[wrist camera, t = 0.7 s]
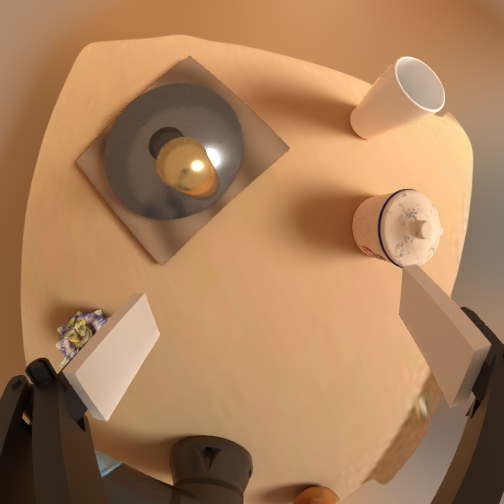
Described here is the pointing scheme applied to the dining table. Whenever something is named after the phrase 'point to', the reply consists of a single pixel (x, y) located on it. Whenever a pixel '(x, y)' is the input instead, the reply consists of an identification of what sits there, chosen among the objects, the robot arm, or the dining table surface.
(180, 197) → the handwheel
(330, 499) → the onion
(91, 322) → the passion flower
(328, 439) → the dining table surface
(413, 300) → the robot arm
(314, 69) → the dining table surface
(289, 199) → the dining table surface
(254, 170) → the base plate
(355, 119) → the drinking glass
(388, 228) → the teacup with lid
